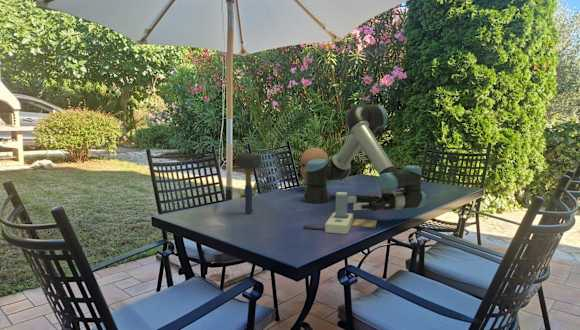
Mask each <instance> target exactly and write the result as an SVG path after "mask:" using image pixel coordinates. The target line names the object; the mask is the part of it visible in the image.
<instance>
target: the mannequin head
mask: <svg viewBox="0 0 580 330" xmlns="http://www.w3.org/2000/svg"><path fill="white" fill-rule="evenodd" d="M315 159H326V160H327V161H329V158H328V154H327V153H326V151H324V149H322V148H320V147H310V148H307V149H305V150H304V152H302V154H301V157H300V160H299V161H300V173H301V177H302V178H303V182H304V183H305V184H306V166H307V162H308V161H311V160H315Z"/></svg>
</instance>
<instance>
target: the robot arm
mask: <svg viewBox="0 0 580 330" xmlns="http://www.w3.org/2000/svg"><path fill="white" fill-rule="evenodd" d="M388 119H389V117H388V112H387V110H386V108H385V107H384V106H383V105H379V104H356V105H353V106H351V107H350V109H349V110H348V111H347V114H346V118H345V122H346V126H347V129H348V130H349V132H350V134H349V136H348V137H347V139H346V140H345V142H344V143H343V145H342V146H341V148H340V150H339V151H338V153H337V154H334V155H333V156H332V157H331V158H330V159H329V160H328V161H327V160H326V159H315V160H311V161H308V162H307V166H306V183H305V184H306V186H305V190H304V193H303V198H302V199H303V202H305V203H309V204H324V203H329V202H330V201H331V199H330V198H331V197H330V193H329V191H328V188H327V187H328V182H333V181H342V180H346V179H347V178H348V177H350V175H351V170H352V167H351V162H352V160H353V159H354V158H355V156H356V155H357V154H358V152H359V150H360V149H361V148H362V149H363V151H364V153H365V154H366V156H367V157H368V159H369V161H370V163H371V164H372V166H373V167H374V169H375V171H376V172H377V174H378V176H379V177H378V179H377V180H378V186H379V187H380V189H381V188H382V189H383V190H394V189H396V190H399V189H400V188H404V190H403V191H396V192H393V193H384V194H383V195H381V197H380V196H379V195H378V196H377V195H360V194H355V196H347V204H351V203H352V204H353V207H352V208H353V209H352V210H353V211H364V210H371V211H378V210H383V209H384V210H389V211H390V210H397V211H399V210H400V209H420V208H424V207H425V206H426V205H427V201H428V200H427V199H428V198H427V194H426V193H425V192H424V191H422V180H421V178H423V176H422V167H421V166H419V165H406V166H405V165H404V168H403V169H404V170H400V171H398V170H397V169H396V167H395V166H394V164H393V163H392V161H391V159H390V158H389V156H388V155H387V154H386V151H385V150H384V149H383V147H382V145H381V144H380V142H379V141H378V140H377V138H376V136H375V133H376V132H377V130H378V129H383V128H384V127H385V126H387V122H388ZM400 190H401V189H400Z"/></svg>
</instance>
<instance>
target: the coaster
mask: <svg viewBox="0 0 580 330" xmlns="http://www.w3.org/2000/svg"><path fill="white" fill-rule="evenodd" d="M377 223H378V220H377V219H376V220H375V219H361V218H353V222H352V225H351V227H362V228H373V229H376V226H377Z"/></svg>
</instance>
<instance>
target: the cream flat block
mask: <svg viewBox="0 0 580 330" xmlns="http://www.w3.org/2000/svg"><path fill="white" fill-rule="evenodd" d="M335 217H336V211H334V212H332V214H331V215H330V217H329V218H328V220H327V221H326V222H325V224H324V226H314V225H303V226H302V228H303V229H308V230H319V231H320V230H321V231H324V233H326V234H327V233H329V234H330V233H331V234H341V235H342V234H343V235H348V233H349V231H350V228H351V227H352V224H353V222H354V213H350V212H347V218H335Z"/></svg>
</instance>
